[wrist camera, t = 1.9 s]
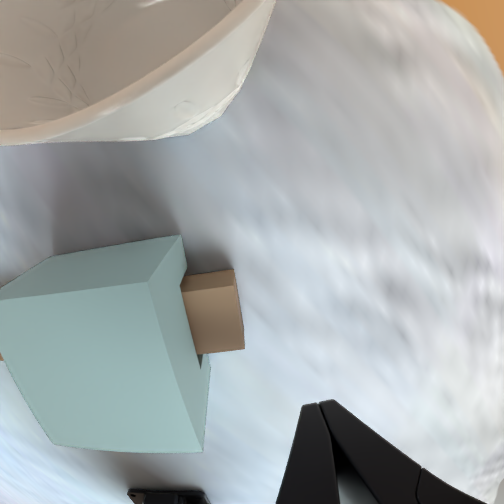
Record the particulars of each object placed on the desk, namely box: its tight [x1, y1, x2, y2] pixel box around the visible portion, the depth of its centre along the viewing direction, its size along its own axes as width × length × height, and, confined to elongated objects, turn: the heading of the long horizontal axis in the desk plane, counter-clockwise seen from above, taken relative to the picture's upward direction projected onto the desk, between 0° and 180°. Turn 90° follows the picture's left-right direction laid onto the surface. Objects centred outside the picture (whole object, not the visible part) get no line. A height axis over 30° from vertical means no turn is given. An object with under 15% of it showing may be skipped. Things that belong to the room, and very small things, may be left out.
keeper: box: [0, 234, 211, 453], centre depth 12 cm, size 7×7×6 cm
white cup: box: [0, 0, 277, 146], centre depth 7 cm, size 8×8×10 cm
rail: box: [0, 269, 245, 361], centre depth 12 cm, size 6×22×7 cm, turn 98°
